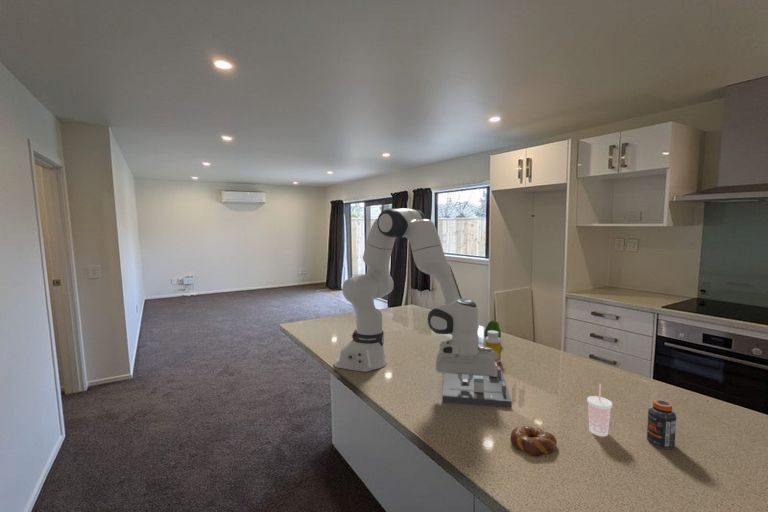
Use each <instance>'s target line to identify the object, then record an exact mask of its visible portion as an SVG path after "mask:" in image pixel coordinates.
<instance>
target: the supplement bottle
mask: <svg viewBox="0 0 768 512" xmlns="http://www.w3.org/2000/svg"><path fill="white" fill-rule="evenodd" d="M487 334H488V336H487V337H486V338H485V337H484V348H492V349H493V350H495V351H496V353H497V359H496V360H495V362H496V363H497V364H499V363H500V362H501V360H502V359H501V358H502V355H501V354H502V353H501V350H502V348H501V346H502V339H501V337H500V338H499V337H498V335H499V332H498V331H494V330H490V331H487ZM493 350H492V351H493Z"/></svg>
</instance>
